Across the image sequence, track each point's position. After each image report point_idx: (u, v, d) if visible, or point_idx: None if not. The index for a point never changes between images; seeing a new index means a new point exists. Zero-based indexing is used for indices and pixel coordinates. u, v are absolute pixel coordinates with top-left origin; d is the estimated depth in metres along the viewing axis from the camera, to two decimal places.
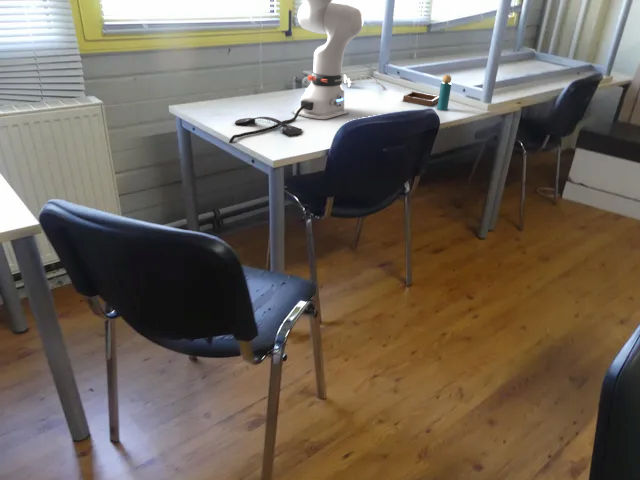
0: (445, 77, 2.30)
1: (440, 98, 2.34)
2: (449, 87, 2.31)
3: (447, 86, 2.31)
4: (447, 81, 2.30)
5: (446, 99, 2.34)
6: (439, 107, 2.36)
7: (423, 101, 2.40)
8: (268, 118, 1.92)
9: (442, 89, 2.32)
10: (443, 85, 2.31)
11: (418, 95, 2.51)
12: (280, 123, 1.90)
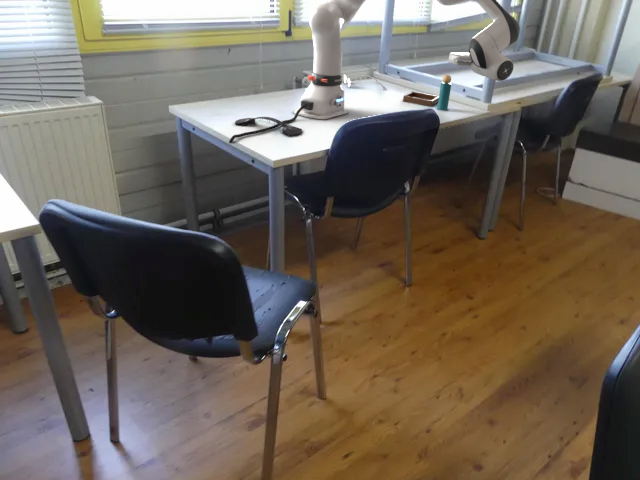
0: (445, 77, 2.30)
1: (440, 98, 2.34)
2: (449, 87, 2.31)
3: (447, 86, 2.31)
4: (447, 81, 2.30)
5: (446, 99, 2.34)
6: (439, 107, 2.36)
7: (423, 101, 2.40)
8: (268, 118, 1.92)
9: (442, 89, 2.32)
10: (443, 85, 2.31)
11: (418, 95, 2.51)
12: (280, 123, 1.90)
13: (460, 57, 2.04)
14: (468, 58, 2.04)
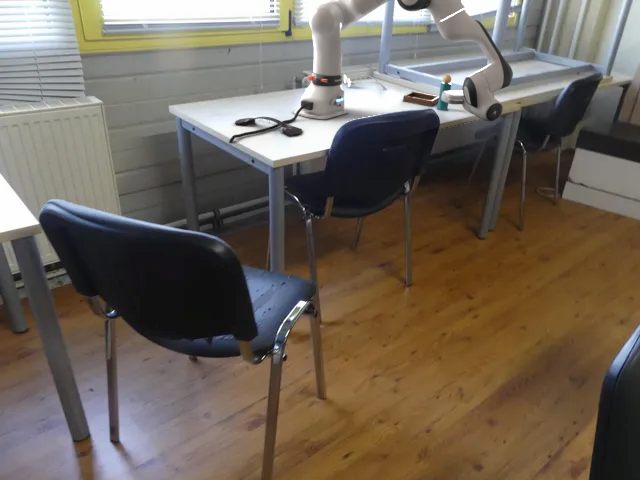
0: (445, 77, 2.30)
1: (440, 98, 2.34)
2: (449, 87, 2.31)
3: (447, 86, 2.31)
4: (447, 81, 2.30)
5: None
6: (439, 107, 2.36)
7: (423, 101, 2.40)
8: (268, 118, 1.92)
9: (442, 89, 2.32)
10: (443, 85, 2.31)
11: (418, 95, 2.51)
12: (280, 123, 1.90)
13: (452, 96, 2.11)
14: (459, 98, 2.12)
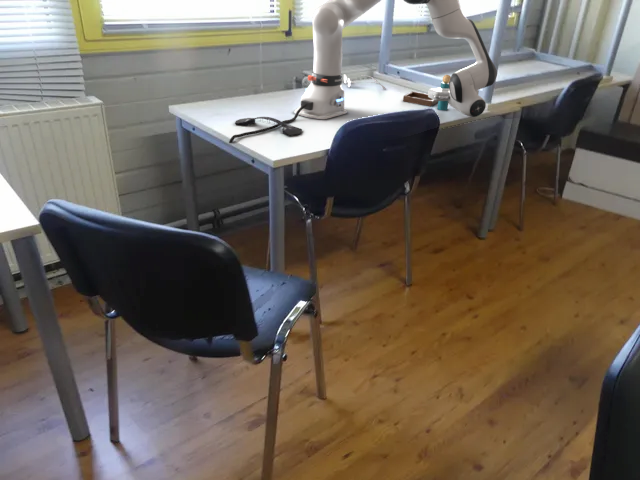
0: (445, 77, 2.30)
1: None
2: None
3: (447, 86, 2.31)
4: (447, 81, 2.30)
5: None
6: (439, 107, 2.36)
7: (423, 101, 2.40)
8: (268, 118, 1.92)
9: None
10: (443, 85, 2.31)
11: (418, 95, 2.51)
12: (280, 123, 1.90)
13: (438, 93, 2.22)
14: (445, 94, 2.22)
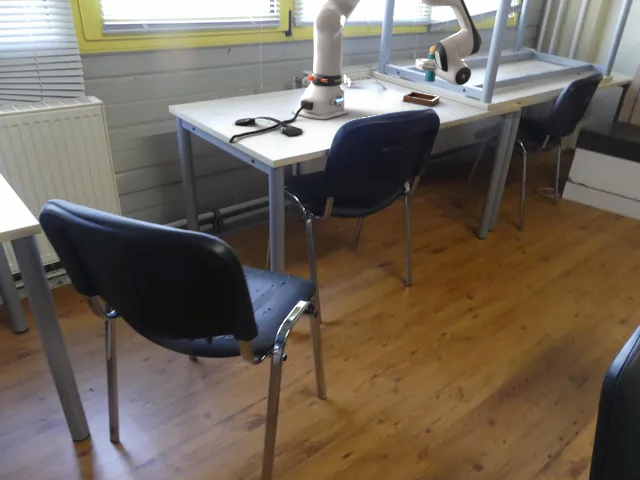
0: (432, 48, 2.31)
1: None
2: None
3: None
4: None
5: None
6: (426, 78, 2.37)
7: (423, 101, 2.40)
8: (268, 118, 1.92)
9: None
10: (430, 56, 2.32)
11: (418, 95, 2.51)
12: (280, 123, 1.90)
13: (425, 63, 2.23)
14: (432, 64, 2.24)
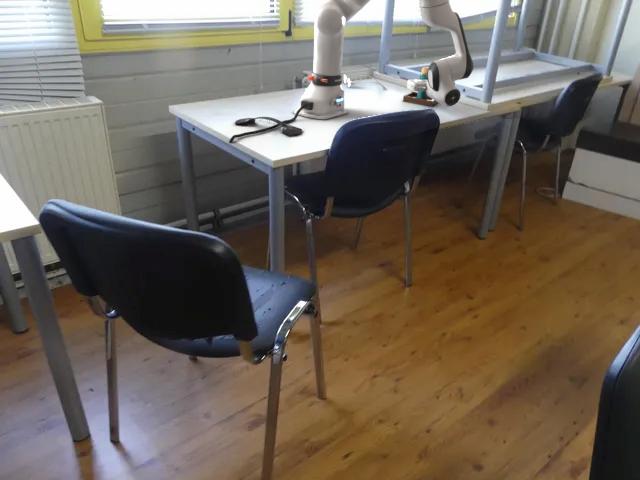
0: (424, 69, 2.38)
1: None
2: None
3: (426, 78, 2.39)
4: (425, 73, 2.39)
5: None
6: None
7: (423, 101, 2.40)
8: (268, 118, 1.92)
9: None
10: (422, 77, 2.40)
11: None
12: (280, 123, 1.90)
13: (416, 84, 2.30)
14: (423, 85, 2.31)
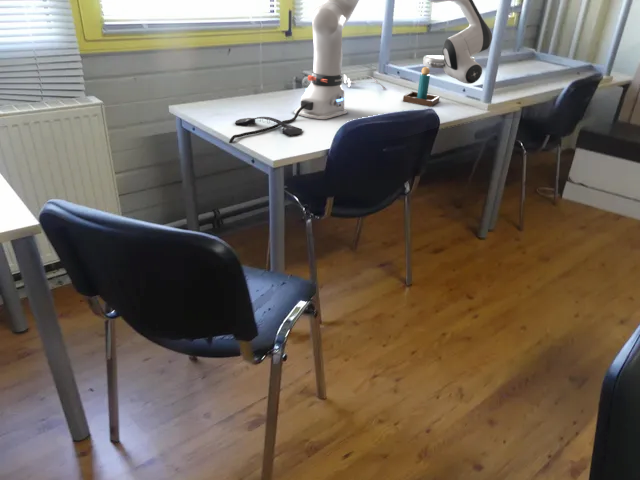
0: (424, 69, 2.38)
1: (419, 89, 2.43)
2: (428, 78, 2.40)
3: (426, 78, 2.39)
4: (425, 73, 2.39)
5: (425, 90, 2.42)
6: None
7: (423, 101, 2.40)
8: (268, 118, 1.92)
9: (421, 80, 2.41)
10: (422, 77, 2.40)
11: None
12: (280, 123, 1.90)
13: (433, 60, 2.14)
14: (440, 61, 2.15)
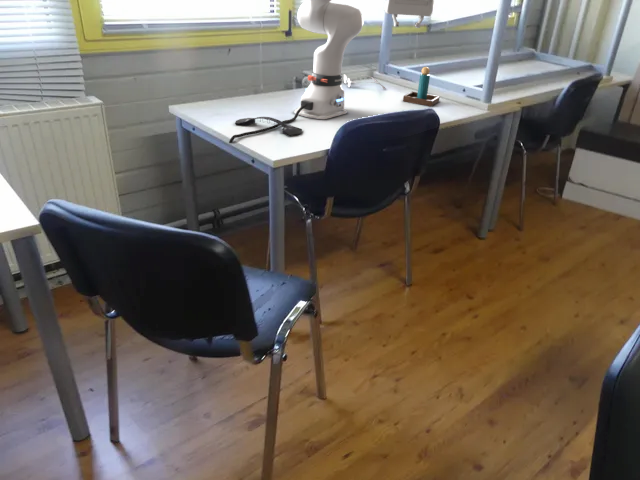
0: (424, 69, 2.38)
1: (419, 89, 2.43)
2: (428, 78, 2.40)
3: (426, 78, 2.39)
4: (425, 73, 2.39)
5: (425, 90, 2.42)
6: None
7: (423, 101, 2.40)
8: (268, 118, 1.92)
9: (421, 80, 2.41)
10: (422, 77, 2.40)
11: None
12: (280, 123, 1.90)
13: None
14: None
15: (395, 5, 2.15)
